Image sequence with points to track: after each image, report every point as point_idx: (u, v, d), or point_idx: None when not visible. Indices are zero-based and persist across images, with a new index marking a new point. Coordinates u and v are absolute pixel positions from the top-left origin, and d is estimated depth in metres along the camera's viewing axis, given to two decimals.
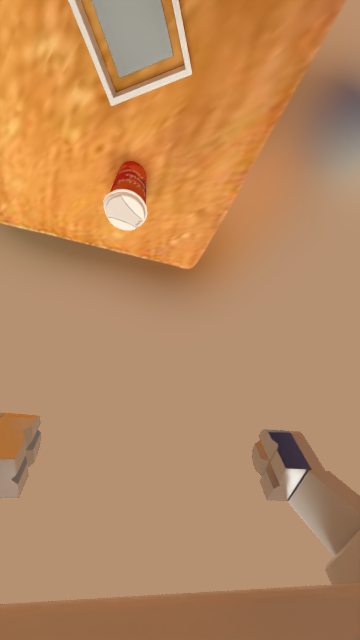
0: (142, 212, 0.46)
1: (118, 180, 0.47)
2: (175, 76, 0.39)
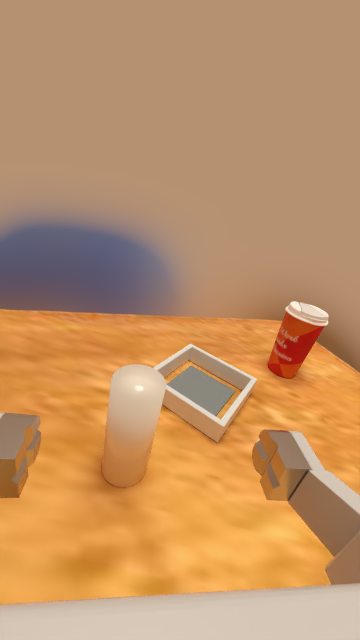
0: (293, 302, 0.49)
1: (295, 342, 0.47)
2: (200, 350, 0.48)
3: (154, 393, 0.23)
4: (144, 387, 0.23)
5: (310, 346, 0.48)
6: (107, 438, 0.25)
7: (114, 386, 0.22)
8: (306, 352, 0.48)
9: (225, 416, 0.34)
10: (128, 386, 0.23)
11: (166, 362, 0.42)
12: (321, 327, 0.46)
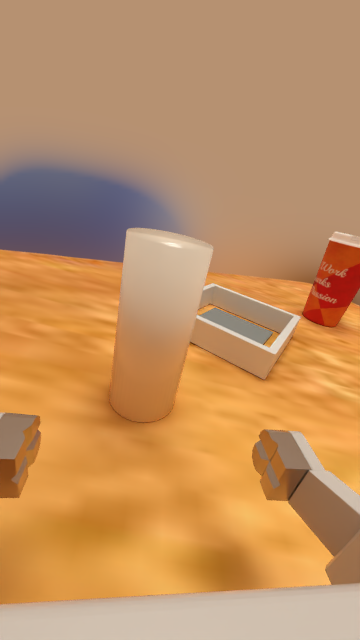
0: None
1: (342, 278, 0.39)
2: (226, 289, 0.39)
3: (198, 247, 0.14)
4: (180, 242, 0.14)
5: None
6: (119, 339, 0.16)
7: (132, 234, 0.14)
8: (355, 291, 0.40)
9: (274, 345, 0.26)
10: (154, 238, 0.14)
11: None
12: None
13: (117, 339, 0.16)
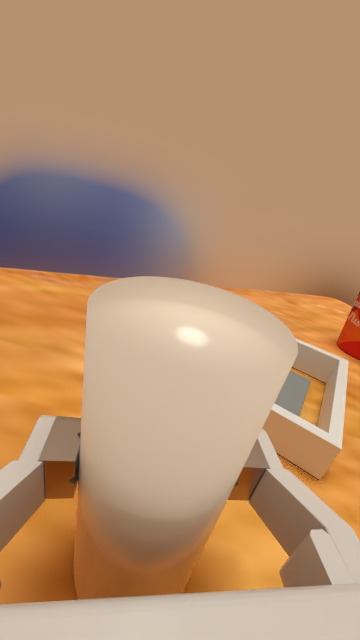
0: None
1: None
2: None
3: (268, 349, 0.05)
4: (220, 329, 0.06)
5: None
6: (82, 510, 0.08)
7: (98, 317, 0.05)
8: None
9: (333, 426, 0.17)
10: (156, 321, 0.05)
11: None
12: None
13: (78, 503, 0.08)
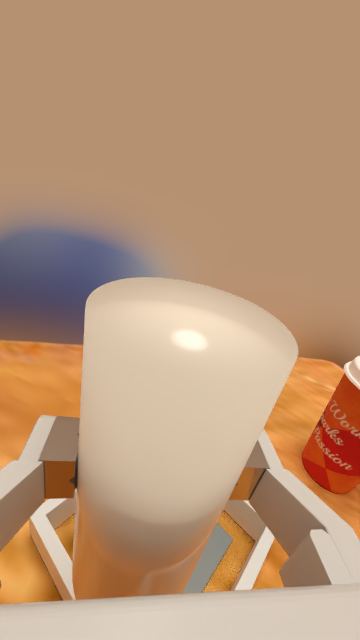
0: (359, 357, 0.26)
1: None
2: None
3: (268, 351, 0.05)
4: (220, 331, 0.06)
5: None
6: (80, 512, 0.08)
7: (96, 320, 0.05)
8: None
9: None
10: (155, 323, 0.05)
11: None
12: None
13: (77, 506, 0.08)
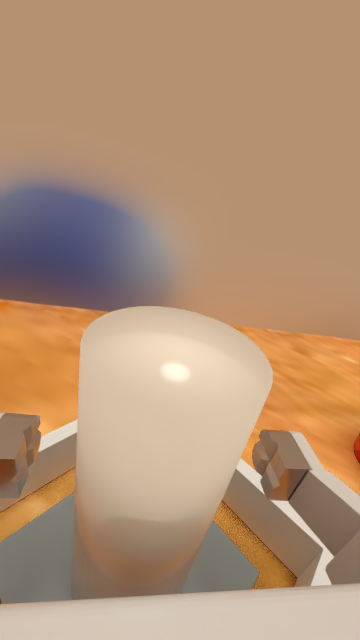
0: None
1: None
2: None
3: (244, 383, 0.06)
4: (201, 363, 0.06)
5: None
6: (78, 528, 0.08)
7: (90, 358, 0.06)
8: None
9: None
10: (143, 359, 0.06)
11: None
12: None
13: (75, 521, 0.08)
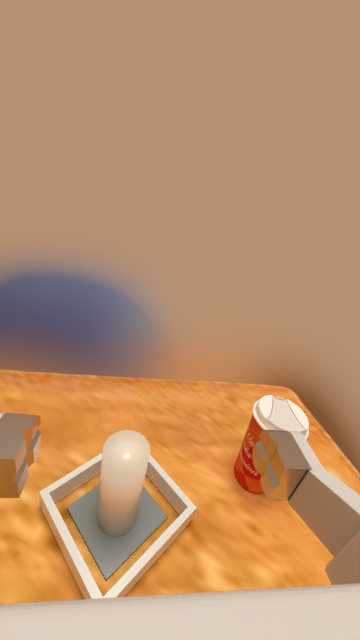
0: (265, 397, 0.38)
1: None
2: None
3: (139, 462, 0.27)
4: (130, 456, 0.27)
5: None
6: (100, 496, 0.29)
7: (104, 457, 0.26)
8: None
9: (113, 589, 0.25)
10: (116, 456, 0.27)
11: (82, 469, 0.34)
12: None
13: (99, 494, 0.29)
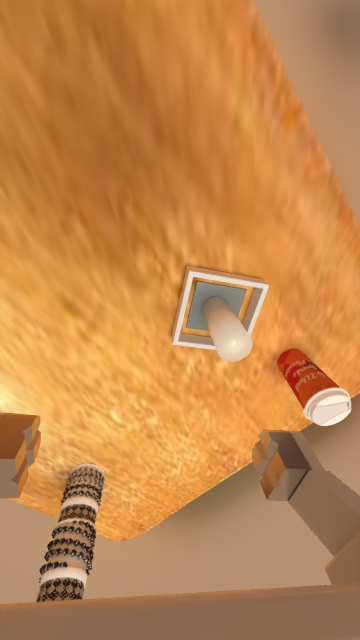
0: (343, 397, 0.41)
1: (294, 386, 0.47)
2: (261, 298, 0.43)
3: (231, 358, 0.37)
4: (231, 352, 0.36)
5: None
6: (209, 320, 0.41)
7: (221, 341, 0.35)
8: None
9: (183, 342, 0.46)
10: (226, 346, 0.36)
11: (219, 279, 0.41)
12: None
13: (210, 317, 0.41)
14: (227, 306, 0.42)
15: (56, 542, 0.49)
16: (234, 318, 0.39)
